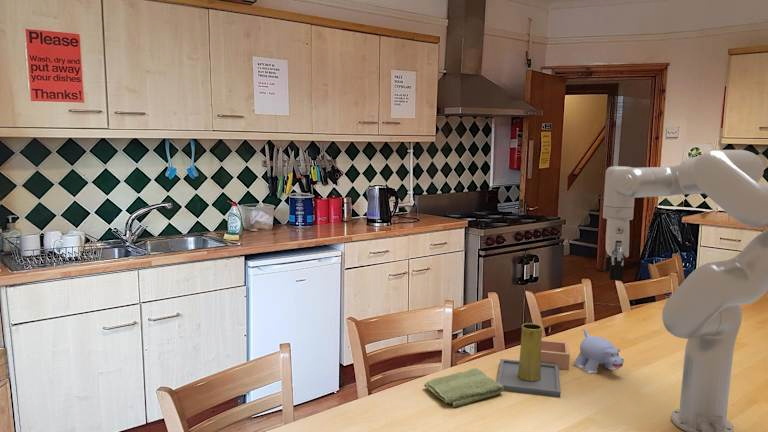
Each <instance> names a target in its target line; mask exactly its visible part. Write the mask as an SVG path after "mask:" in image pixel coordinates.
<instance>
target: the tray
mask: <svg viewBox="0 0 768 432" xmlns="http://www.w3.org/2000/svg"><path fill="white" fill-rule="evenodd" d="M518 370H519V360H516V359H506V358H500V360H499V366H498V373H497V378H496V379H497V380H496V381H497V382H498V383H500V384H502V385H503V386H504V390H503V392H513V393H519V394H520V393H521V394H529V395H537V396H544V397H546V396H547V397H554V398H561V396H562V395H561V393H562V390H561V379H560V369H559V368H558V365H555V364H545V363H541V379H540V380H538V381H526V380H522V379H520V378H519V377H518Z"/></svg>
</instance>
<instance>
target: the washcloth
mask: <svg viewBox="0 0 768 432" xmlns="http://www.w3.org/2000/svg"><path fill="white" fill-rule="evenodd" d="M423 386H424V387H425V388H426V390H427V391H430V392H431V393H432V394H433V393H434V394H433V395H434V396H436V397H437V398H439V399H440V400H442V401H443V402H444V403H445V404H449V405H450V406H451V407H453V408H456V407H460V406H463V405H468V404H470V403H473V402H476V401H480V400H485V399H488V398H491V397H494V396H498V395H500V394H502V393H503V392H504V391H503V390H504V386H503V385H502V384H500V383H498V382H497V380H495V379H493V378H492V377H491V378H490V377H489V376H487V375H486V373H484V371H482V370H481V369H479V368H477V367H476V368H475V367H474V368H470V369H468V370H465V371H459V372H456V373H452V374H449V375H445V376H441V377H435V378H432V379H430V380H428V381H426V382H425V383H424V385H423Z"/></svg>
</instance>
